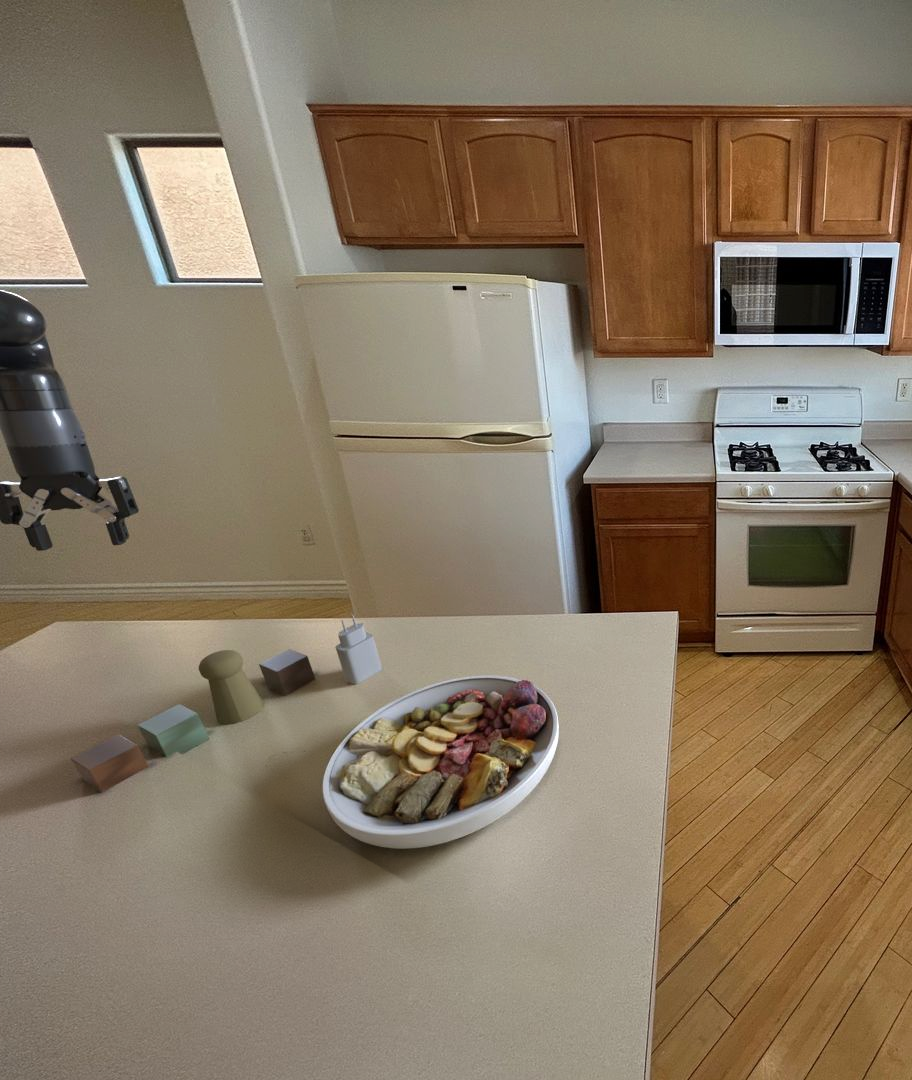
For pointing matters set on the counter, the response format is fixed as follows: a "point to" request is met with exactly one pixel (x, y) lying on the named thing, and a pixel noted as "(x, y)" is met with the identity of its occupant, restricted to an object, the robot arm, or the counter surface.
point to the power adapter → (357, 653)
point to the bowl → (441, 761)
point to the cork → (230, 687)
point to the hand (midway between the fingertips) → (83, 546)
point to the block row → (177, 728)
